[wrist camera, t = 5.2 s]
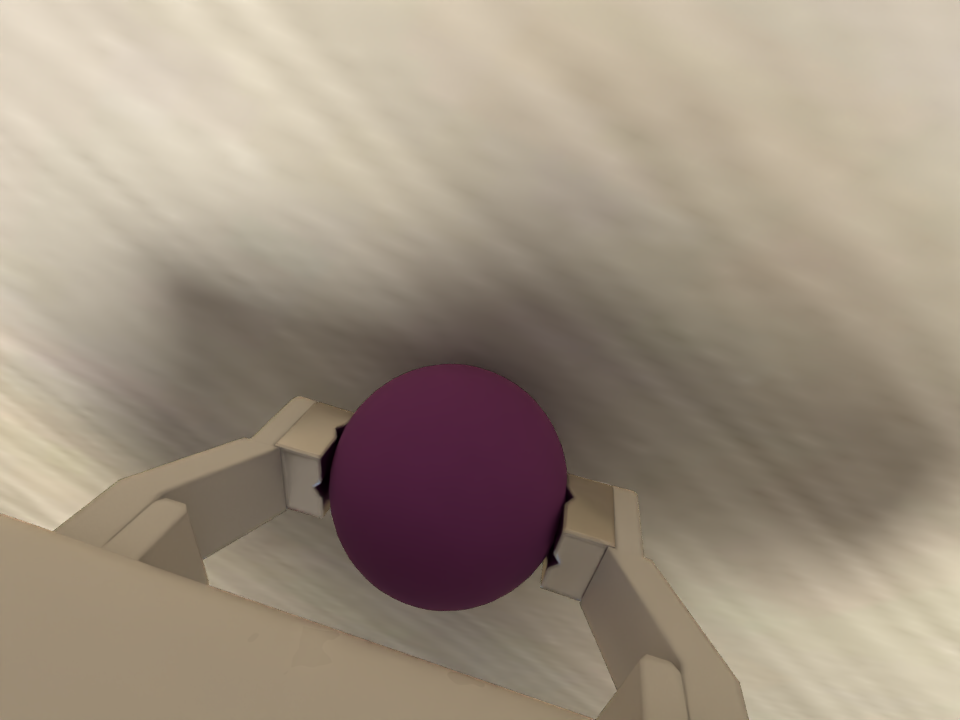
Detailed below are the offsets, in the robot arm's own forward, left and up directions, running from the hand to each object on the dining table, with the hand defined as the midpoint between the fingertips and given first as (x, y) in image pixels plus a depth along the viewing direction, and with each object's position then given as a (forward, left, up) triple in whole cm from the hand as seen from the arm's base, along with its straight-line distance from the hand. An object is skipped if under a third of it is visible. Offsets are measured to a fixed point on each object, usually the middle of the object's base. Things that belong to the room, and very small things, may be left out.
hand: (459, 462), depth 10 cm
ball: (0, 0, 0) cm, 0 cm away
